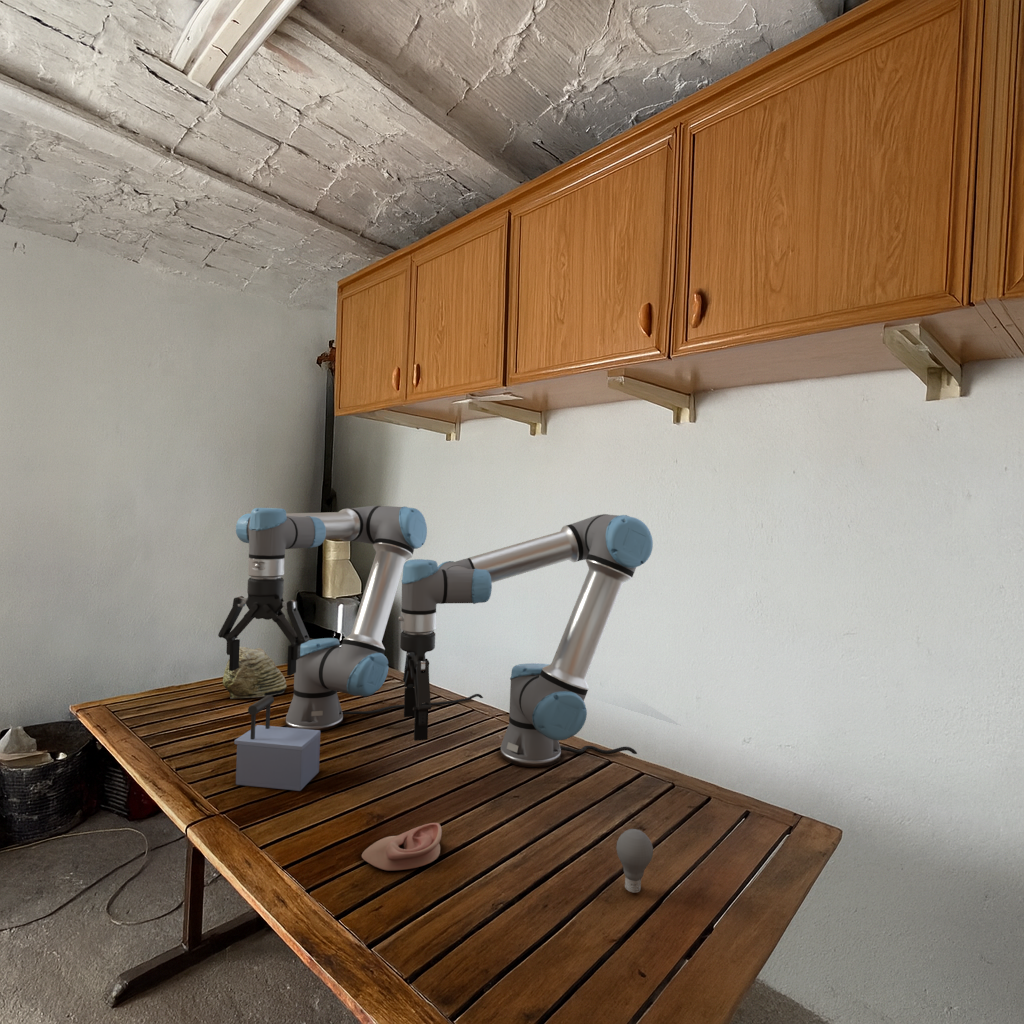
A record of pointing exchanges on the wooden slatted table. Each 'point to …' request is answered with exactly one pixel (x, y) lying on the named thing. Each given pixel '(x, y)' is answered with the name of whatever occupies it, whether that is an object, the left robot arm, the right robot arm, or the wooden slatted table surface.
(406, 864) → the anatomical model
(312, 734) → the lid
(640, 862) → the light bulb
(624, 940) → the wooden slatted table surface
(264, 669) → the fossil
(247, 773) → the chest
